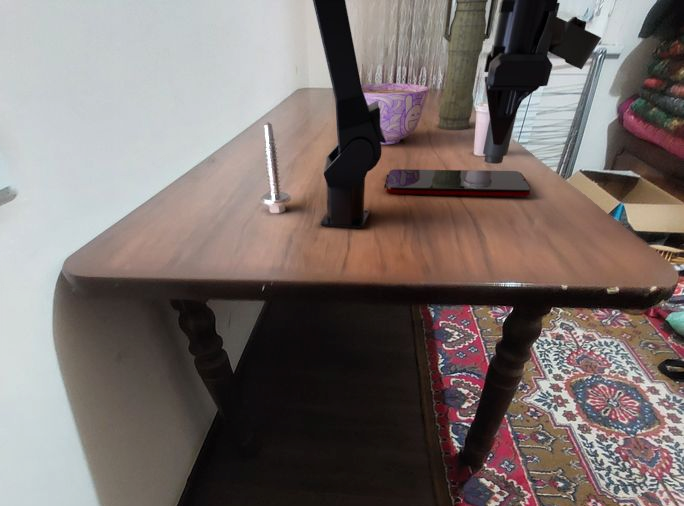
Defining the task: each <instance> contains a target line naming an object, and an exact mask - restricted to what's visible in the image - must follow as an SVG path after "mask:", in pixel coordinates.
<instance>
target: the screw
mask: <svg viewBox="0 0 684 506" xmlns="http://www.w3.org/2000/svg"><path fill="white" fill-rule="evenodd" d="M263 135H264V147H263V148H264V149H265V151H264V152H265V155H264V156H265V158H266V159H265V161H266V166H267V167H266V169H267V172H266V173H267V174H268V175H267V177H268V179H267V181H268V182H269V183H268V185H269V187H268V189H269V191H268V192H267V193H264V194H263V195H262V197H260V202H261V203H262V204H264V205H267V206H268V211H269V212H270V213H271V214H282V213H284V212H286V204H288V203H289V202H291V201H292V197H291V195H290V194H289V193H288V192H284V191H281V190H282V188H281V184H280V182H281V180H280V176H279V175H280V172H279V171H280V169H279V164H278V162H279V160H278V158H279V157H278V156H277V155H278V152H277V150H278V148H277V147H276V146H277V143H276V139H275V137H274V135H275V134H274V128H273V124H272V123H271V122H269V121H266V123H264V125H263Z"/></svg>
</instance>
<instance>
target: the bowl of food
mask: <svg viewBox="0 0 684 506" xmlns="http://www.w3.org/2000/svg"><path fill="white" fill-rule="evenodd" d="M361 87H362V90H363V93H364V95H365V98H366V101H367V103H368V105H370V104H371V103H373V102H375V101H377V102H378V105H379V108H380V127H381V128H382V130H383V133H384V137H385V140H386V142H385V143H382V142H380V143H381V145H394V144H399V143H400V141H401V140H402V139H406V138H407V137H409V136H411V135H412V134H413V133H414V131H415V130H416V129H417V127H418V125H419V121H420V119H421V116H422V113H423V110H424V106H425V103H426V100H427V97H428V92H429V89H430V87H429V86H425V85H422V84H417V83H416V84H414V83H398V82H395V83H393V82H391V83H389V82H388V83H382V82H381V83H366V84H361Z"/></svg>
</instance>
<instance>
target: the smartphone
mask: <svg viewBox="0 0 684 506" xmlns="http://www.w3.org/2000/svg"><path fill="white" fill-rule="evenodd" d="M384 189H385V192H386V193H387V194H390V195H391V194H392V195H432V196H433V195H435V196H473V197H475V196H477V197H517V198H519V197H522V198H523V197H529V196H531V192H532V187H531V185H530V184H529V182H528V180H527V179H526V177H525V176H524V175H523V173H522V172H521V171H518V170H484V169H483V170H482V169H481V170H477V169H475V170H474V169H401V168H398V169H397V168H396V169H395V168H394V169H390V170H389V172H388V174H386V178H385V183H384Z"/></svg>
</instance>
